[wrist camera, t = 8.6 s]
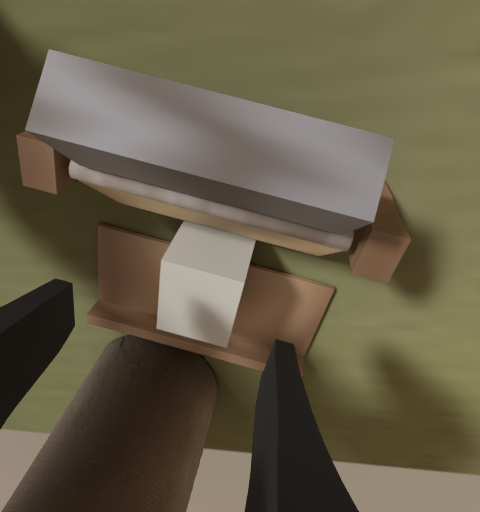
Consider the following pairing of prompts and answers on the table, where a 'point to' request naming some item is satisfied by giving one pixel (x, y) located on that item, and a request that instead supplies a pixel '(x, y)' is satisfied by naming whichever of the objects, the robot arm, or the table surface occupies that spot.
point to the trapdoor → (210, 155)
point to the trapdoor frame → (255, 287)
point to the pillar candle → (126, 435)
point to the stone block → (202, 282)
